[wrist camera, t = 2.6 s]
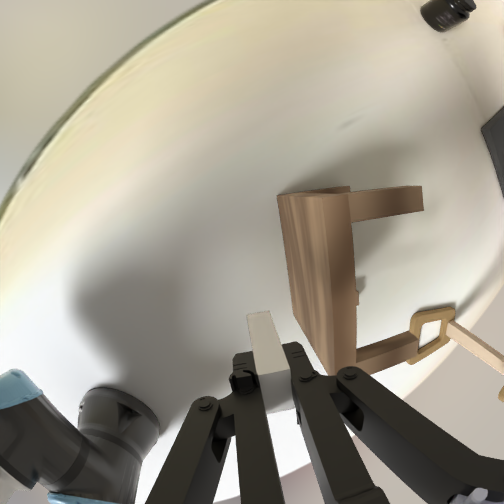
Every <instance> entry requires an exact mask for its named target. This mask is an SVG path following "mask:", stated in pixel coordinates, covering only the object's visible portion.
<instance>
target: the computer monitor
mask: <svg viewBox="0 0 504 504" xmlns="http://www.w3.org/2000/svg"><path fill="white" fill-rule="evenodd" d="M481 131H482V133H483V136H484V138H485V141H486V143H487V146H488V149H489V151H490V154H491V157H492V160H493V163H494V166H495V169H496V172H497V176H498V179H499V182H500V186H501V190H502V194H503V197H504V107H503V108H502V109H501V110H500V111H499V112H498V113H497V114H496V115H495V116H494V117H493V118H492V119H491V120H490V121H489V122H488V123H487V124H486V125H485V126H484V127H482V129H481Z"/></svg>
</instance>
